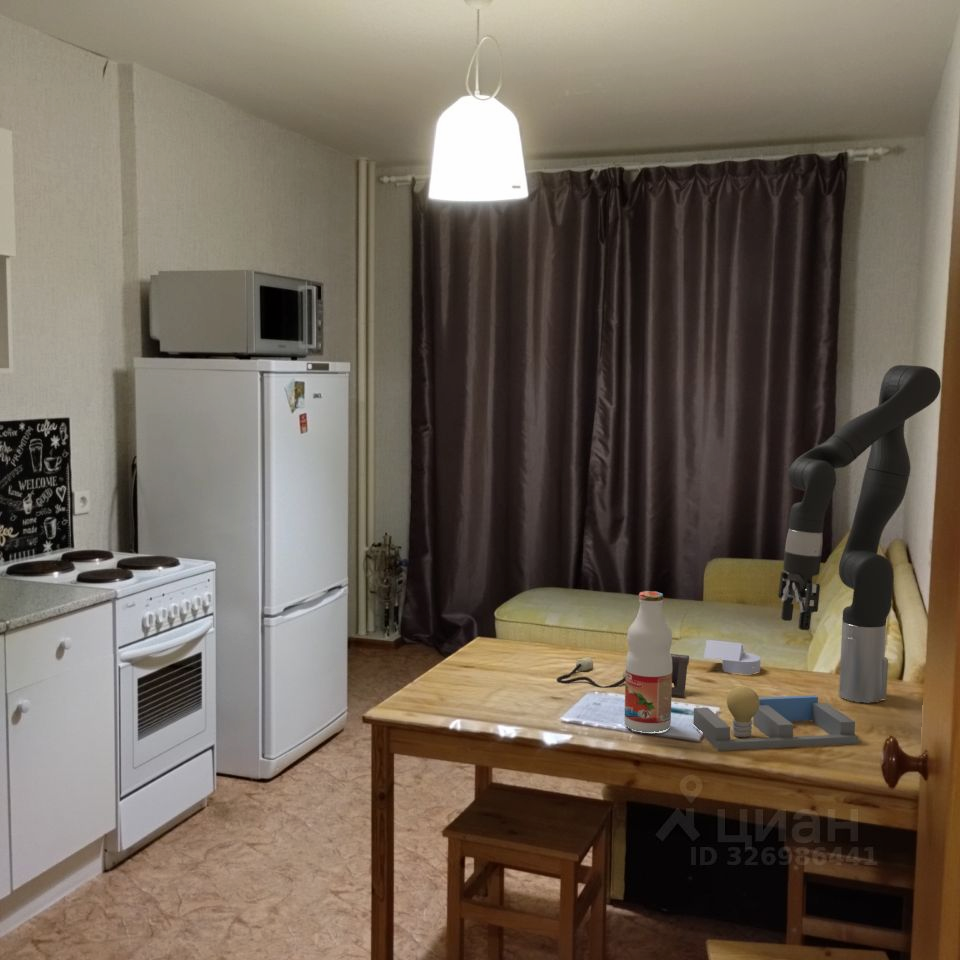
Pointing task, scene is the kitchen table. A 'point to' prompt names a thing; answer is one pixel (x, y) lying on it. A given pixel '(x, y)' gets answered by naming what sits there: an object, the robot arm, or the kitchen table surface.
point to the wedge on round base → (732, 657)
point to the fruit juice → (649, 668)
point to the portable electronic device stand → (679, 674)
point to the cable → (585, 665)
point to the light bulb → (742, 709)
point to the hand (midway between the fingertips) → (794, 624)
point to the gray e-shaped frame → (781, 724)
